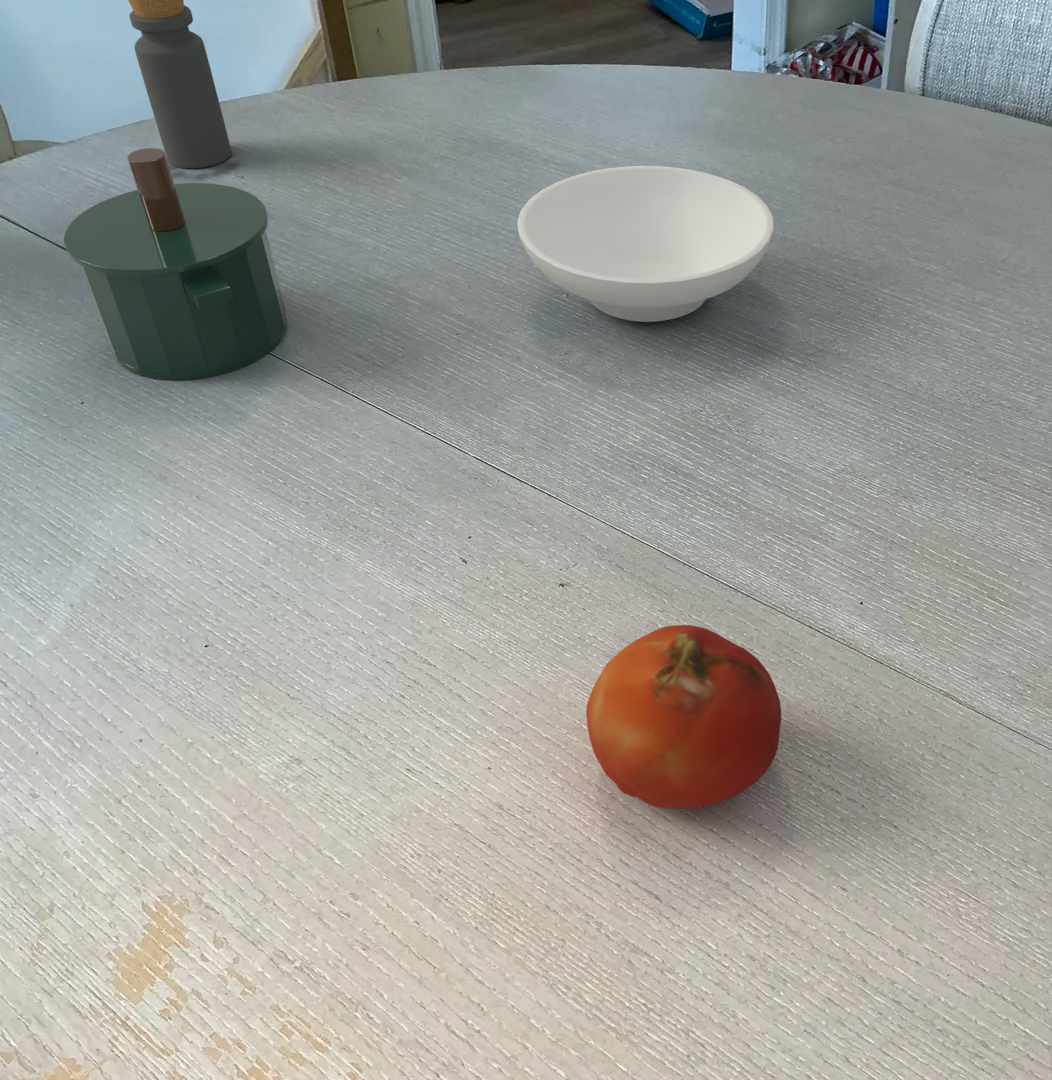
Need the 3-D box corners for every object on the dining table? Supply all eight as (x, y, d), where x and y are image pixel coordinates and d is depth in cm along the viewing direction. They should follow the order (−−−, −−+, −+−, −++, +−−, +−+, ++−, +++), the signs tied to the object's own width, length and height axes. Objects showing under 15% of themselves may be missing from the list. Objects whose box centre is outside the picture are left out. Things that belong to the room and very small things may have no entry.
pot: (151, 418, 81) (112, 309, 75) (84, 307, 91) (45, 204, 86) (325, 363, 86) (301, 257, 80) (242, 264, 97) (216, 165, 91)
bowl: (482, 337, 89) (472, 255, 85) (580, 226, 103) (576, 151, 99) (728, 385, 85) (731, 302, 81) (795, 262, 99) (801, 186, 95)
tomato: (553, 783, 58) (541, 674, 53) (661, 670, 64) (660, 562, 59) (707, 876, 55) (711, 769, 49) (808, 747, 60) (820, 639, 55)
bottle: (154, 164, 111) (103, -4, 101) (189, 140, 115) (144, -23, 105) (210, 172, 110) (164, 3, 100) (244, 147, 114) (202, -17, 104)
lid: (97, 304, 76) (65, 217, 72) (48, 225, 84) (16, 142, 80) (298, 251, 82) (279, 167, 78) (234, 181, 90) (213, 102, 86)
